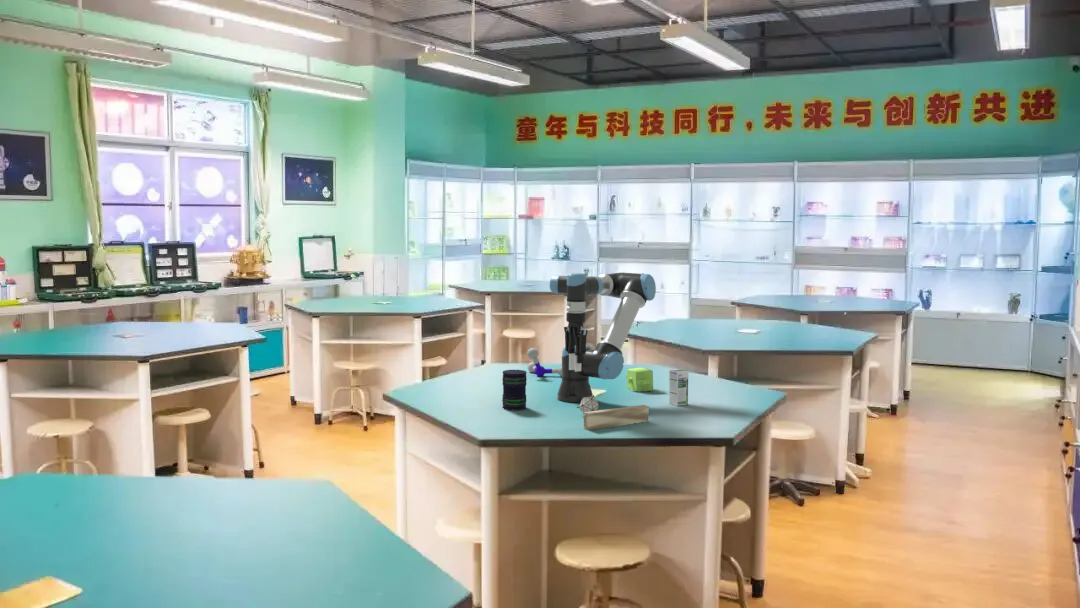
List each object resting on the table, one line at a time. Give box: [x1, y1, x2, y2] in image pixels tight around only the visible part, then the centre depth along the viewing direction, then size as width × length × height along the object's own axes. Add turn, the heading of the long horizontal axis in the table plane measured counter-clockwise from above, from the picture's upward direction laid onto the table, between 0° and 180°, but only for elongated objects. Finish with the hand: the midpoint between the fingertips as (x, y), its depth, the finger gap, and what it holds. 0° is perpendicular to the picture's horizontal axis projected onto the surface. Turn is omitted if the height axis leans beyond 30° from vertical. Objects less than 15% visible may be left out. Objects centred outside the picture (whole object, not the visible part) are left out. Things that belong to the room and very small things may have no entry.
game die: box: [576, 394, 602, 415], centre depth 341 cm, size 9×8×10 cm
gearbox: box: [625, 367, 654, 392], centre depth 398 cm, size 18×10×10 cm, turn 18°
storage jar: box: [501, 369, 527, 411], centre depth 353 cm, size 10×10×15 cm
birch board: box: [583, 404, 650, 431], centre depth 325 cm, size 3×28×6 cm, turn 122°
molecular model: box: [526, 347, 562, 377], centre depth 432 cm, size 21×21×15 cm
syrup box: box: [668, 368, 689, 407], centre depth 365 cm, size 6×6×14 cm
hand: (575, 370), depth 348 cm, fingers open, 3 cm apart
